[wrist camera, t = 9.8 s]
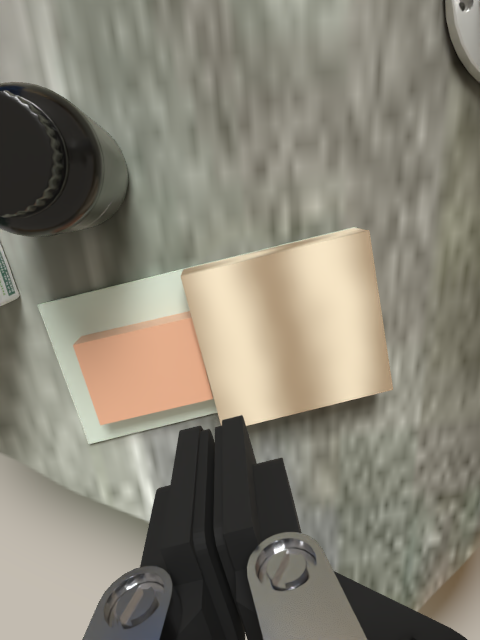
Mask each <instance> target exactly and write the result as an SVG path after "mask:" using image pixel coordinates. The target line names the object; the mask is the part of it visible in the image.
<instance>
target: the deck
mask: <svg viewBox="0 0 480 640" xmlns="http://www.w3.org/2000/svg"><path fill="white" fill-rule="evenodd" d="M181 280H182V284H183V288H184V291H185V295H186V299H187V302H188V306H189V310H190V313H191V317H192V320H193V324H194V328H195V331H196V335H197V339H198V342H199V346H200V350H201V353H202V357H203V361H204V364H205V368H206V372H207V375H208V379H209V383H210V386H211V390H212V394H213V397H214V401H215V405H216V408H217V412H218V415H219V419H220V423H221V426H222V420H224V419H228V418H232V417H236V416H240V415H242V416H243V418H244V421H245V424H246V426H248V425H252V424H256V423H260V422H264V421H268V420H272V419H276V418H280V417H284V416H288V415H292V414H297V413H301V412H305V411H309V410H313V409H317V408H321V407H325V406H329V405H333V404H337V403H341V402H345V401H349V400H353V399H357V398H361V397H365V396H369V395H374V394H378V393H382V392H386V391H390V390H393V386H392V379H391V373H390V366H389V359H388V353H387V346H386V339H385V333H384V326H383V319H382V313H381V306H380V299H379V293H378V286H377V279H376V273H375V266H374V259H373V253H372V246H371V239H370V233H369V231H368V230H363V229H357V228H351V229H347V230H343V231H339V232H335V233H331V234H327V235H322V236H318V237H314V238H310V239H306V240H302V241H298V242H294V243H290V244H286V245H281V246H277V247H273V248H269V249H265V250H261V251H257V252H253V253H249V254H245V255H240V256H236V257H232V258H228V259H224V260H220V261H216V262H212V263H208V264H204V265H199V266H195V267H191V268H187V269H183V271H182V274H181Z"/></svg>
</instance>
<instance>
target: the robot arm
mask: <svg viewBox="0 0 480 640" xmlns="http://www.w3.org/2000/svg"><path fill="white" fill-rule="evenodd" d="M445 6H446V20H447V25H448V29H449V34H450V38H451V41H452V43H453V46H454V48H455V50H456V53H457V55H458V57H459V59H460V60H461V62H462V63H463V65H464V66H465V68H466V69H467V71H468V72H469V73H470V74H471V75H472V76H473V77H474V78H475V79H476V80H477V81H478V82H479V83H480V0H445ZM459 6H460V7H461V9H460V7H459ZM245 633H246V636H247V639H248V640H467V639H466V638H465V637H463V636H462V635H460V634H459V633H457V632H456V631H454V630H453V629H451V628H449V627H447V626H445V625H443V624H441V623H439V622H437V621H435V620H433V619H431V618H429V617H427V616H424V615H422V614H420V613H418V612H416V611H414V610H412V609H410V608H408V607H406V606H404V605H402V604H400V603H398V602H396V601H394V600H392V599H390V598H388V597H386V596H384V595H382V594H379V593H377V592H375V591H373V590H371V589H369V588H367V587H365V586H363V585H361V584H359V583H357V582H355V581H353V580H351V579H349V578H347V577H345V576H343V575H341V574H339V573H336V572H334V571H333V569H332V567H331V565H330V563H329V561H328V559H327V557H326V555H325V553H324V551H323V549H322V548H321V546H320V545H319V544H318V542H317V541H316V540H314V539H313V538H311V537H310V536H308V535H305V534H302V533H301V529H300V525H299V521H298V517H297V513H296V509H295V504H294V500H293V497H292V493H291V489H290V485H289V481H288V477H287V473H286V470H285V466H284V462H283V458H278V459H274V460H270V461H266V462H262V463H258V464H257V463H256V460H255V456H254V453H253V449H252V446H251V442H250V439H249V435H248V431H247V428H246V424H245V421H244V418H243V416H242V415H240V416H236V417H232V418H228V419H224V420H222V426H219V427H216V428H215V442H214V439H213V436H212V433H211V431H210V429H207V430H203V428H202V427H201V426H197V427H193V428H189V429H185V430H181V431H180V432H179V437H178V443H177V450H176V456H175V462H174V468H173V474H172V480H171V485H169V486H165V487H161V488H159V489H157V491H156V494H155V499H154V504H153V509H152V513H151V518H150V523H149V528H148V533H147V538H146V542H145V547H144V551H143V556H142V561H141V566H140V568H136V569H133V570H132V571H130V572H127V573H125V574H124V575H122V576H121V577H120V578H118V579H117V580H116V581H115V582H113V583H112V585H111V586H110V587H109V588H108V589H107V590H106V591H105V593H104V594H103V596H102V598H101V599H100V601H99V603H98V605H97V608H96V610H95V612H94V614H93V617H92V619H91V621H90V624H89V626H88V628H87V630H86V633H85V635H84V637H83V639H82V640H245Z"/></svg>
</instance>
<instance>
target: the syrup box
mask: <svg viewBox="0 0 480 640" xmlns="http://www.w3.org/2000/svg"><path fill="white" fill-rule="evenodd" d="M19 296H20V294H19V292H18V289H17V287H16V285H15V282H14V279H13V277H12V273H11V270H10V267H9V264H8V262H7V259H6V257H5V254H4V251H3V249H2V246H1V244H0V306H2V305H4V304H7V303H9V302H11V301H13V300H16V299H17V298H18V297H19Z"/></svg>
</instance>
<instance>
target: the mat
mask: <svg viewBox="0 0 480 640" xmlns="http://www.w3.org/2000/svg"><path fill="white" fill-rule="evenodd" d="M353 228H357V227H353ZM349 229H351V228H349ZM345 230H347V229H345ZM341 231H343V230H341ZM336 232H339V231H336ZM332 233H335V232H332ZM328 234H331V233H328ZM324 235H327V234H324ZM320 236H322V235H320ZM316 237H318V236H316ZM312 238H314V237H312ZM308 239H310V238H308ZM304 240H306V239H304ZM300 241H302V240H300ZM295 242H298V241H295ZM291 243H294V242H291ZM287 244H290V243H287ZM283 245H286V244H283ZM279 246H281V245H279ZM275 247H277V246H275ZM271 248H273V247H271ZM267 249H269V248H267ZM263 250H265V249H263ZM259 251H261V250H259ZM254 252H257V251H254ZM250 253H253V252H250ZM246 254H249V253H246ZM242 255H245V254H242ZM238 256H240V255H238ZM234 257H236V256H234ZM230 258H232V257H230ZM226 259H228V258H226ZM222 260H224V259H222ZM218 261H220V260H218ZM213 262H216V261H213ZM209 263H212V262H209ZM205 264H208V263H205ZM201 265H204V264H201ZM197 266H199V265H197ZM193 267H195V266H193ZM189 268H191V267H189ZM185 269H187V268H185ZM182 271H183V269H181V270H176V271H172V272H168V273H164V274H160V275H156V276H152V277H148V278H144V279H140V280H135V281H131V282H127V283H123V284H119V285H115V286H111V287H107V288H103V289H99V290H94V291H90V292H86V293H82V294H78V295H74V296H70V297H66V298H62V299H58V300H53V301H49V302H45V303H41V304H38V305H37V306H38V308H39V311H40V314H41V316H42V319H43V322H44V324H45V327H46V330H47V332H48V335H49V338H50V341H51V343H52V346H53V349H54V351H55V354H56V357H57V359H58V362H59V365H60V368H61V370H62V373H63V376H64V378H65V381H66V384H67V386H68V389H69V392H70V394H71V397H72V400H73V403H74V405H75V408H76V411H77V413H78V416H79V419H80V421H81V424H82V427H83V430H84V432H85V435H86V438H87V440H88V443H89V444H92V443H96V442H100V441H104V440H108V439H112V438H116V437H120V436H124V435H128V434H132V433H136V432H141V431H145V430H149V429H153V428H157V427H161V426H165V425H169V424H173V423H177V422H181V421H185V420H189V419H193V418H197V417H201V416H205V415H209V414H214V413H218V412H217V408H216V405H215V401H214V397H213V399H211V400H206V401H202V402H198V403H194V404H189V405H185V406H181V407H177V408H172V409H168V410H164V411H160V412H155V413H151V414H147V415H143V416H138V417H134V418H130V419H126V420H121V421H117V422H113V423H109V424H104V425H100V423H99V420H98V417H97V414H96V411H95V408H94V406H93V403H92V400H91V397H90V394H89V391H88V388H87V385H86V382H85V379H84V376H83V374H82V371H81V368H80V365H79V362H78V359H77V356H76V353H75V350H74V347H73V344H74V343H75V342H76V341H77V340H78V339H79V338H80V337H81V336H84V335H88V334H93V333H97V332H101V331H106V330H110V329H114V328H119V327H123V326H127V325H131V324H136V323H140V322H144V321H149V320H153V319H157V318H162V317H166V316H170V315H174V314H179V313H183V312H187V311H190V310H189V306H188V302H187V299H186V295H185V291H184V288H183V284H182V280H181V274H182Z"/></svg>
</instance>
